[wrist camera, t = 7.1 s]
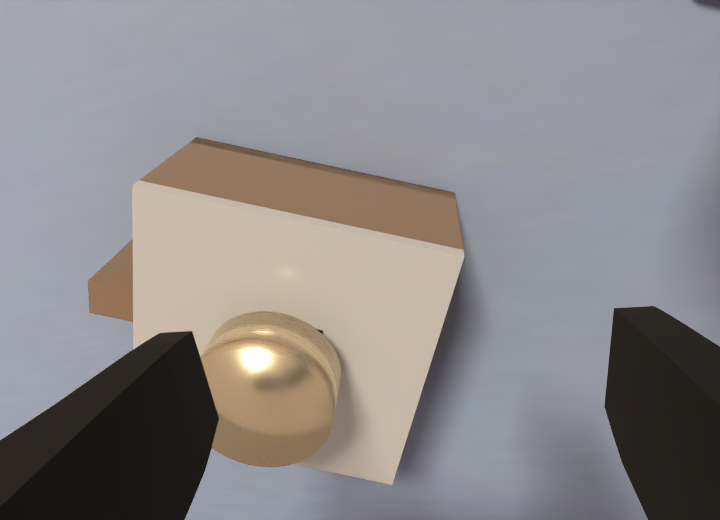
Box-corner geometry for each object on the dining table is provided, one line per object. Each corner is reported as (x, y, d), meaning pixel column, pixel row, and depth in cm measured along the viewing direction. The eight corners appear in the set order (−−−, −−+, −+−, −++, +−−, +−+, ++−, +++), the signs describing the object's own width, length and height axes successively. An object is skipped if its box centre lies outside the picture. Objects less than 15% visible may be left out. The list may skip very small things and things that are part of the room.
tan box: (454, 192, 19) (464, 256, 15) (397, 391, 23) (392, 485, 19) (145, 126, 19) (65, 171, 15) (143, 336, 23) (82, 419, 19)
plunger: (366, 253, 19) (344, 369, 14) (346, 344, 21) (320, 479, 16) (254, 228, 19) (185, 335, 14) (243, 322, 21) (180, 450, 16)
